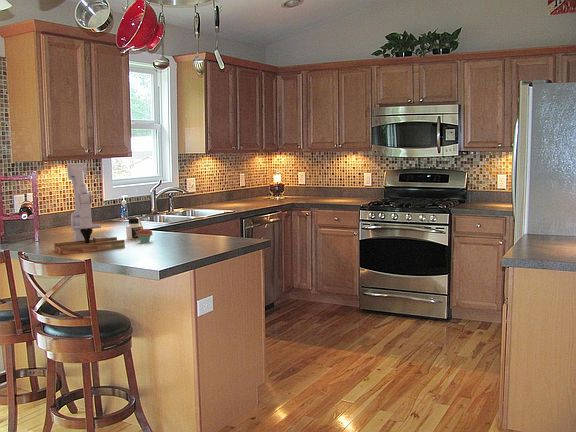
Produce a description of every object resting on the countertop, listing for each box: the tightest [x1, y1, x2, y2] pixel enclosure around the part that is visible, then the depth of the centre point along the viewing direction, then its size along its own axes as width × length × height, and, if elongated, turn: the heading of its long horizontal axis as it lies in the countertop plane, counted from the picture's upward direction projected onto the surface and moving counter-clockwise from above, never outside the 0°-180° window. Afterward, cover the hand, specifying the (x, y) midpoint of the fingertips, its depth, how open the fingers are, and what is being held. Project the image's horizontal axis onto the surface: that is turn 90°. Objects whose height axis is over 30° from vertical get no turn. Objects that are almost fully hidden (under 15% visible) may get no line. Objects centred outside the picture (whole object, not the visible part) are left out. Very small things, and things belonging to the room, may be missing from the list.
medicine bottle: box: [125, 216, 144, 241], centre depth 360 cm, size 7×7×12 cm
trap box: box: [53, 236, 126, 256], centre depth 327 cm, size 14×32×4 cm, turn 122°
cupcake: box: [136, 221, 153, 243], centre depth 347 cm, size 9×8×12 cm
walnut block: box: [92, 235, 109, 243], centre depth 329 cm, size 6×6×3 cm
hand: (87, 243), depth 326 cm, fingers closed
